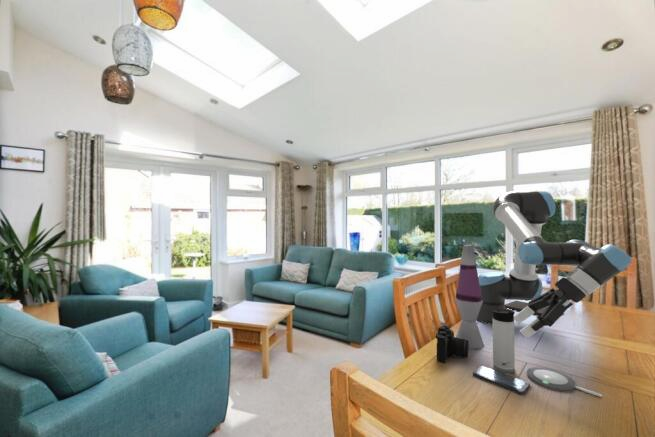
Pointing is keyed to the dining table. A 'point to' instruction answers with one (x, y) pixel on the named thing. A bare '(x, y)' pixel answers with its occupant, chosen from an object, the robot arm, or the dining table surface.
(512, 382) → the phone
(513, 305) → the hardcover book
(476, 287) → the lamp
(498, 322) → the travel mug
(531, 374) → the charging pad
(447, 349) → the camera
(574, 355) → the dining table surface
